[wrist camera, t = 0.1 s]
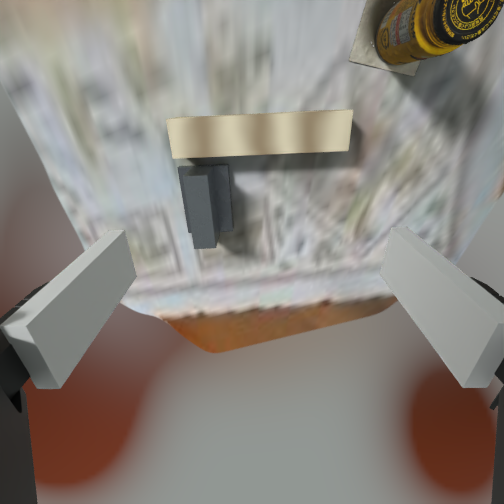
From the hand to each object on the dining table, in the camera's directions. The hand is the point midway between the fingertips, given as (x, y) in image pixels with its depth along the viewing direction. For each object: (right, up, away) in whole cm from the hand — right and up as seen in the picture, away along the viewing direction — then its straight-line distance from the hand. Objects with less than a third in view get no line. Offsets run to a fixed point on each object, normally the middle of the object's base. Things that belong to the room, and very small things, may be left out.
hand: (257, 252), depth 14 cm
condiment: (+16, +26, +18) cm, 35 cm away
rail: (-7, +8, +27) cm, 29 cm away
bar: (+1, +16, +23) cm, 28 cm away
